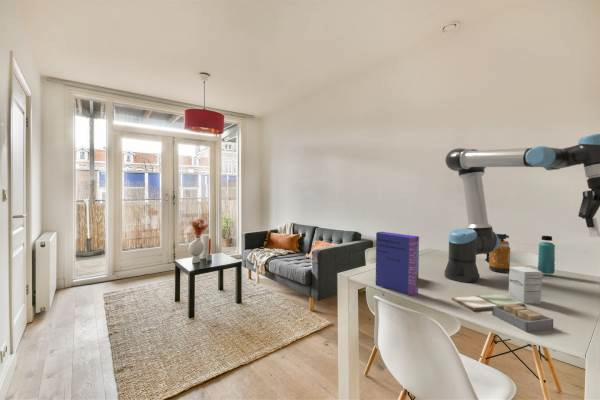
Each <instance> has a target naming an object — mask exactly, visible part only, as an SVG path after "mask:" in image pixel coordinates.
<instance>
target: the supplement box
mask: <svg viewBox="0 0 600 400" xmlns="http://www.w3.org/2000/svg"><path fill="white" fill-rule="evenodd" d="M508 273H509V274H508V275H509V276H508V277H509V278H508V296H507V297H508V298H510V299H513V300H515V301H518V302H520V303H523V304H525V305H526V304H536V305H541V302H542V283H543V282H542V280H543V273H542V272H541V271H538V269H534V268H531V267H528V266H510V271H509V272H508Z"/></svg>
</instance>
